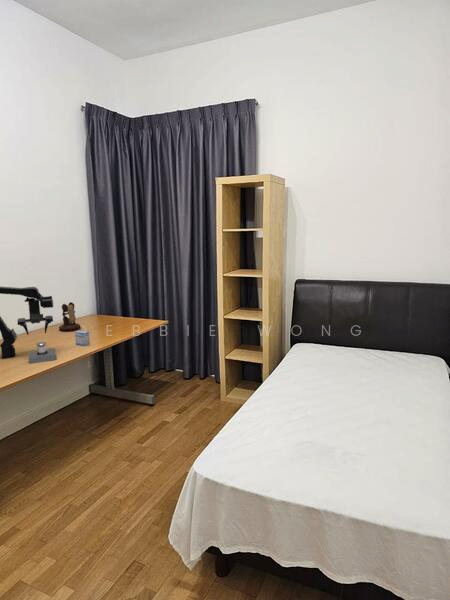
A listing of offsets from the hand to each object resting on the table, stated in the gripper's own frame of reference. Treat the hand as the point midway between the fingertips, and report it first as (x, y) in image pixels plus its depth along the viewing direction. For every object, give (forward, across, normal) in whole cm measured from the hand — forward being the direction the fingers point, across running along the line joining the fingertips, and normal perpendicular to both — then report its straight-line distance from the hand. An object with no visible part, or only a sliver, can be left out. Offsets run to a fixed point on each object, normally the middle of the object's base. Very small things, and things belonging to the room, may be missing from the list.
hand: (36, 334), depth 232 cm
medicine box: (+12, +26, +7) cm, 30 cm away
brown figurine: (+12, +22, +52) cm, 58 cm away
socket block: (+12, +2, -10) cm, 16 cm away
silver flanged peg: (+12, +2, -10) cm, 16 cm away
